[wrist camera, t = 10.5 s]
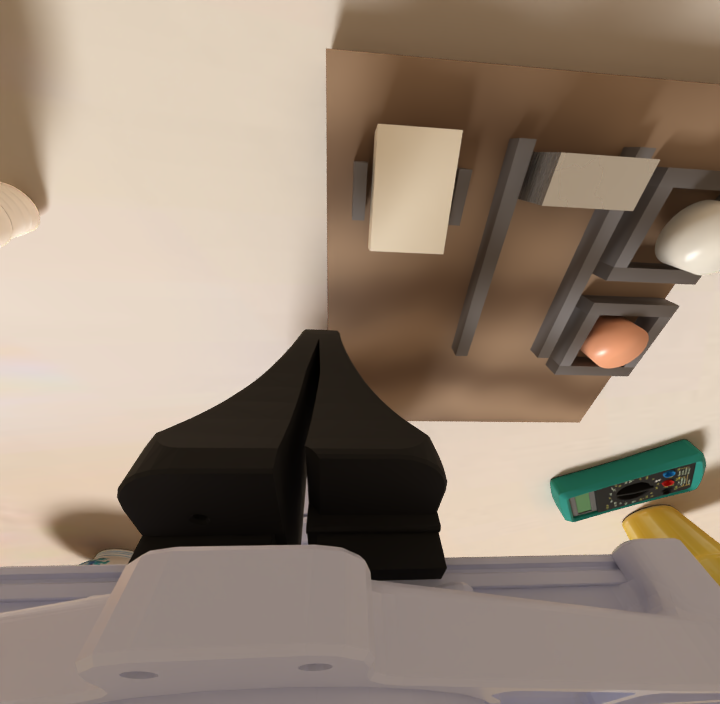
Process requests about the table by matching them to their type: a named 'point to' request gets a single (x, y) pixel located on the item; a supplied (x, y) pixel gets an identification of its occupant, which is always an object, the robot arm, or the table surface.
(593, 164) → the light grey small block
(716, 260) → the cream egg shape
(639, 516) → the plant pot
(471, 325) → the brown flat wooden tray
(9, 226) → the lightbulb
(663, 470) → the digital multimeter
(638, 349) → the peach egg shape
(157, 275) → the table surface
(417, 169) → the block
